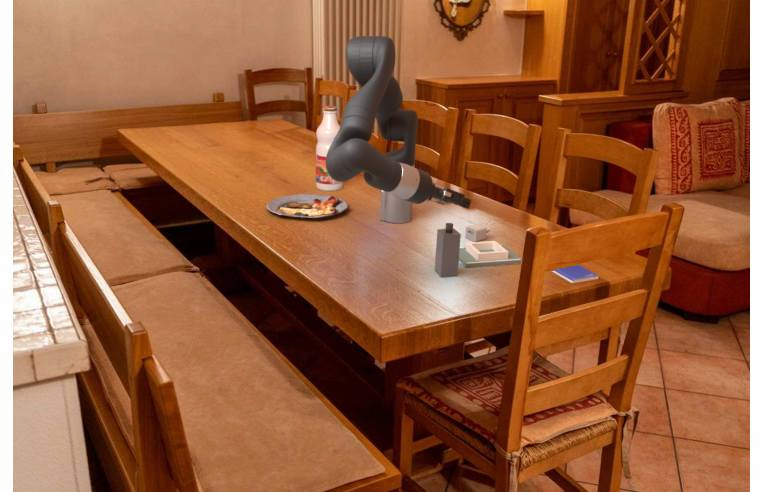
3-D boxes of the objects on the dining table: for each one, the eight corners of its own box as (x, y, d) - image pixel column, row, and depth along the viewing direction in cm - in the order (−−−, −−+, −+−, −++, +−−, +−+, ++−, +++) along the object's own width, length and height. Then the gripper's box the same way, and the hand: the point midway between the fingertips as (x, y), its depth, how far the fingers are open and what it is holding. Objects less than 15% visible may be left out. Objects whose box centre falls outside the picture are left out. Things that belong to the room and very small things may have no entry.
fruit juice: (344, 191, 237) (345, 109, 227) (316, 191, 235) (316, 109, 225) (341, 183, 245) (342, 104, 236) (314, 184, 244) (314, 104, 234)
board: (465, 267, 175) (466, 256, 174) (450, 252, 185) (451, 241, 184) (522, 263, 179) (524, 252, 178) (504, 248, 189) (506, 238, 188)
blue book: (599, 274, 171) (567, 257, 182) (572, 279, 168) (541, 261, 178) (598, 280, 172) (566, 263, 182) (572, 285, 168) (541, 267, 179)
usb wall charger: (464, 239, 196) (466, 225, 194) (481, 234, 200) (482, 221, 198) (475, 243, 193) (476, 229, 191) (491, 238, 197) (493, 225, 196)
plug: (440, 277, 169) (444, 227, 164) (434, 270, 173) (437, 221, 168) (458, 276, 170) (462, 226, 165) (452, 269, 174) (455, 220, 169)
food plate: (356, 203, 224) (356, 193, 223) (337, 226, 202) (337, 215, 201) (283, 198, 229) (282, 188, 227) (257, 220, 207) (256, 209, 206)
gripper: (432, 169, 148) (482, 190, 158) (392, 164, 159) (441, 184, 169) (422, 202, 147) (473, 221, 157) (383, 195, 159) (432, 213, 169)
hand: (456, 202), depth 163 cm, fingers open, 8 cm apart
